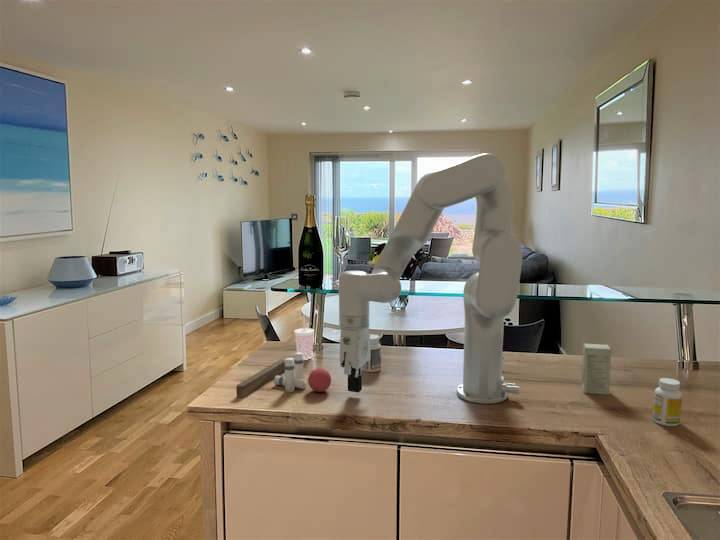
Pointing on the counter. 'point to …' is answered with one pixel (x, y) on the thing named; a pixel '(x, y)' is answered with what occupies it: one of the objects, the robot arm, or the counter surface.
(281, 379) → the pin front
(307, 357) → the beverage cup
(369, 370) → the pill bottle
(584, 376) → the skincare box
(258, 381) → the back rail
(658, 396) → the supplement bottle
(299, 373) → the pin rear right
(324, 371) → the ball
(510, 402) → the counter surface
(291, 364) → the pin rear left
